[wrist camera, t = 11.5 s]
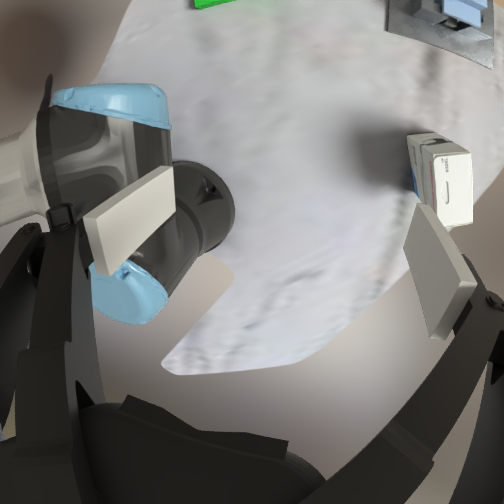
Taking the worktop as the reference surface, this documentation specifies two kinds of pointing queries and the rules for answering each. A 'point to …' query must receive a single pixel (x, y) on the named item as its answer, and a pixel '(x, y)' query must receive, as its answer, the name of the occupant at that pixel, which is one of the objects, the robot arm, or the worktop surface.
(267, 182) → the worktop surface
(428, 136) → the ink box
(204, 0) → the mechanical part
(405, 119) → the worktop surface
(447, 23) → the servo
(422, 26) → the chassis pocket
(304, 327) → the worktop surface
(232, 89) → the worktop surface
